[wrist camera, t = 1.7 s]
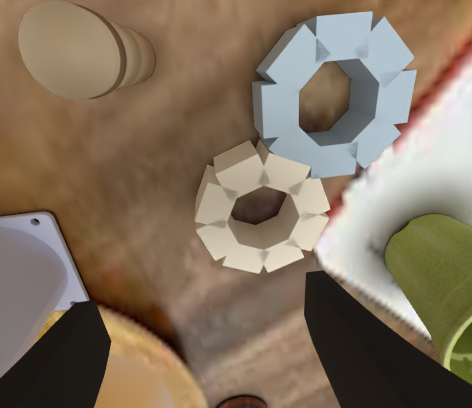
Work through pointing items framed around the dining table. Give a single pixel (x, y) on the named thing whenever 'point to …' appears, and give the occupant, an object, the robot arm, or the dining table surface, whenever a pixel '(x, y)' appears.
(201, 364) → the dining table surface
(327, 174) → the blue bead
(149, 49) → the brown wooden peg
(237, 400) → the supplement bottle
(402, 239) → the plant pot
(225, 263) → the cream bead
